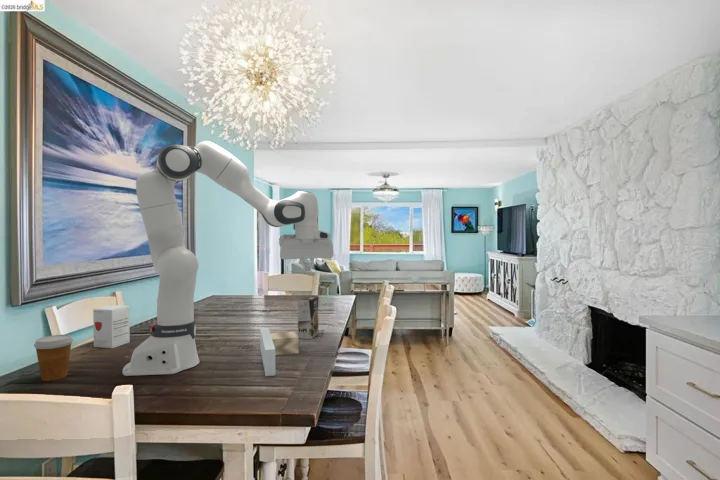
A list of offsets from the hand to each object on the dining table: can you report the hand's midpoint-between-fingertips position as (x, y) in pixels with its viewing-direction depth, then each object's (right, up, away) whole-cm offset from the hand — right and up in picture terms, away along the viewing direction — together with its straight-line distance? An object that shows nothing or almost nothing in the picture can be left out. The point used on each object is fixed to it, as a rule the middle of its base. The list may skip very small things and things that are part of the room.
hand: (307, 270), depth 155 cm
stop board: (-11, -30, -17) cm, 36 cm away
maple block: (-8, -30, -5) cm, 31 cm away
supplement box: (-78, -30, +5) cm, 83 cm away
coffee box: (-2, -29, +17) cm, 34 cm away
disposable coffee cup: (-73, -30, -31) cm, 85 cm away
